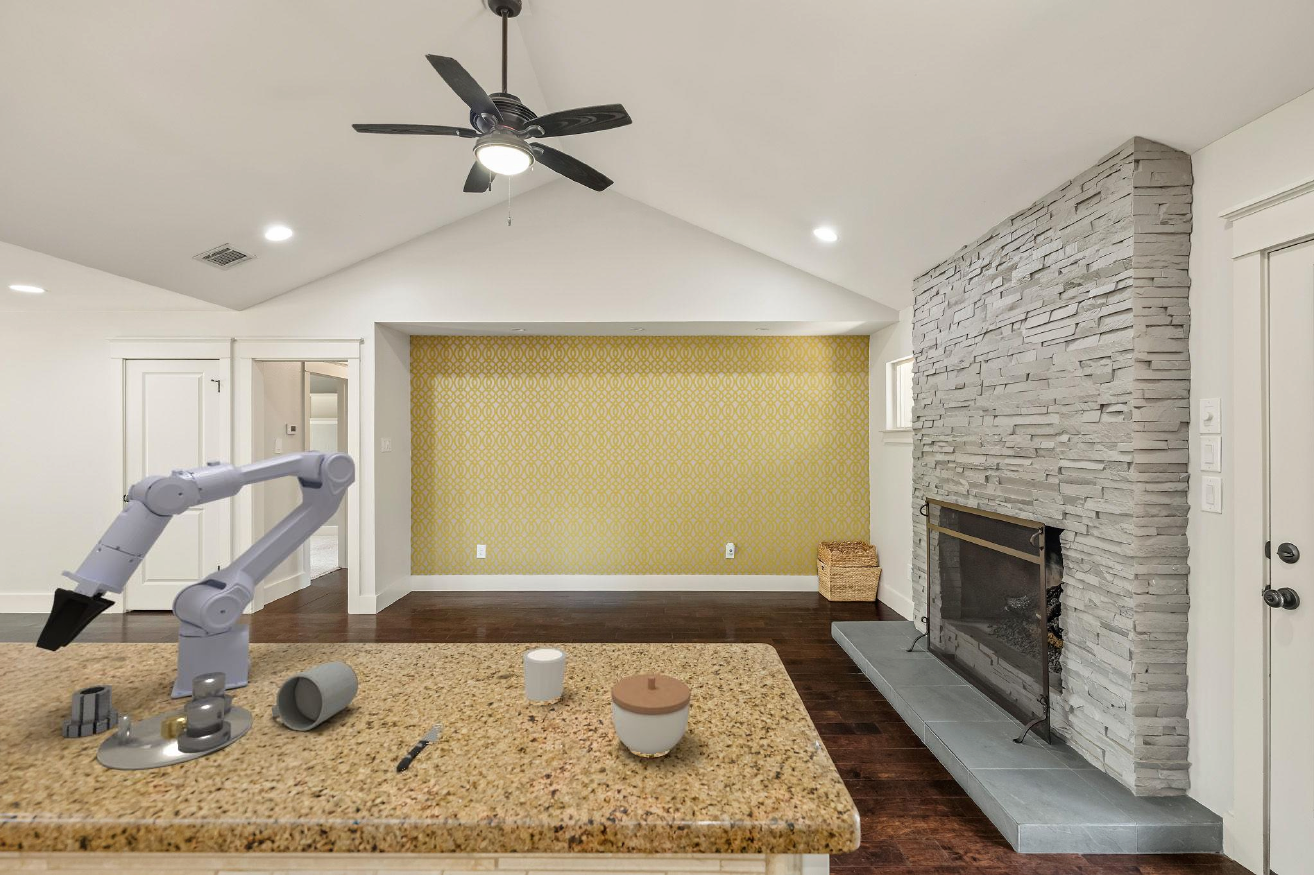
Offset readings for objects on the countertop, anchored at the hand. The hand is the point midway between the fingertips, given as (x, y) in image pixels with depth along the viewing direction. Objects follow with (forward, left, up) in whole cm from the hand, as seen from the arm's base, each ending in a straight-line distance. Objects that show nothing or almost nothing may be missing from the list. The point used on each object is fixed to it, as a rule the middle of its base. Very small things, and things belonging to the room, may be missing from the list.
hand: (51, 647), depth 79 cm
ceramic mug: (-29, +13, -12) cm, 34 cm away
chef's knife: (-44, +27, -12) cm, 53 cm away
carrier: (-14, +10, -11) cm, 21 cm away
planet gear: (-4, +1, -11) cm, 12 cm away
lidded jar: (-66, +45, -12) cm, 81 cm away
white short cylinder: (-60, +24, -12) cm, 66 cm away
